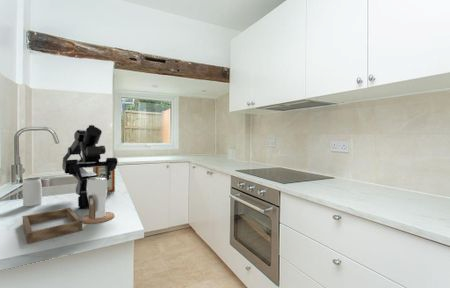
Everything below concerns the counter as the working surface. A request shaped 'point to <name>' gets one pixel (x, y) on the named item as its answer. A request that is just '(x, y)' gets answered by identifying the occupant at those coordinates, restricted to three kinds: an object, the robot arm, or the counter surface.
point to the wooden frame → (51, 231)
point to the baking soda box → (101, 173)
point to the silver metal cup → (97, 197)
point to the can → (32, 192)
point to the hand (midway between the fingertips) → (95, 181)
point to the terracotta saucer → (91, 221)
